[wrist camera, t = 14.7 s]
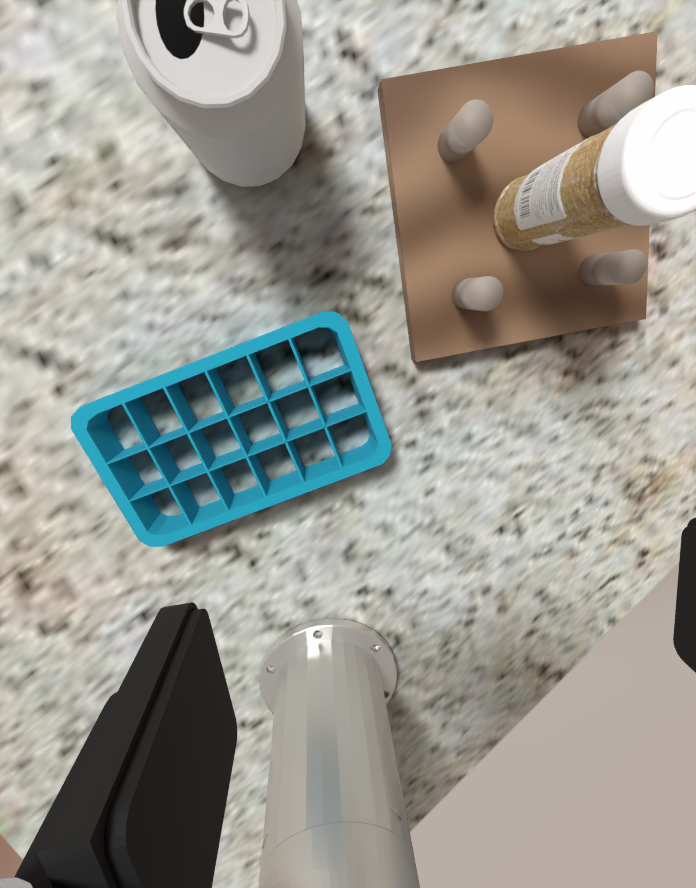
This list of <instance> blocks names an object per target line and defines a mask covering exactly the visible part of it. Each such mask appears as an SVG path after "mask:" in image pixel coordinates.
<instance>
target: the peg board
mask: <svg viewBox="0 0 696 888" xmlns="http://www.w3.org/2000/svg"><path fill="white" fill-rule="evenodd" d="M656 54H657V31H656V32H651V33H645V34H639V35H634V36H628V37H622V38H616V39H611V40H605V41H599V42H593V43H588V44H582V45H576V46H571V47H565V48H559V49H553V50H548V51H542V52H536V53H530V54H525V55H519V56H513V57H508V58H502V59H496V60H490V61H485V62H479V63H473V64H467V65H462V66H456V67H450V68H445V69H439V70H433V71H427V72H422V73H416V74H410V75H404V76H399V77H393V78H387V79H382V80H381V82H380V85H379V88H378V97H379V105H380V113H381V121H382V129H383V137H384V145H385V153H386V160H387V168H388V176H389V184H390V192H391V200H392V208H393V216H394V224H395V231H396V239H397V247H398V255H399V263H400V271H401V279H402V287H403V294H404V302H405V310H406V318H407V326H408V334H409V342H410V350H411V358H412V360H414V361H415V362H419V361H424V360H429V359H435V358H440V357H445V356H451V355H456V354H461V353H467V352H472V351H477V350H483V349H488V348H493V347H499V346H504V345H509V344H514V343H520V342H525V341H530V340H536V339H541V338H546V337H552V336H557V335H562V334H568V333H573V332H578V331H584V330H589V329H594V328H600V327H605V326H610V325H616V324H621V323H626V322H632V321H637V320H642V319H646V302H647V278H648V253H649V228H650V225H645V226H635V225H625V226H621V227H617V228H613V229H610V230H604V231H600V232H597V233H594V234H591V235H586V236H583V237H580V238H576V239H572V240H567V241H563V242H559V243H555V244H549V245H542V246H540V247H538V248H535V249H532V250H529V251H520V250H515V249H512V248H510V247H508V246H506V245H505V244H504V243H503V242H502V241H501V239H500V238H499V236H498V235H497V232H496V230H495V226H494V209H495V206H496V202H497V199H498V198H499V196H500V194H501V192H502V191H503V190H504V188H505V187H506V186H507V185H508V184H509V183H510V182H512V181H513V180H515V179H517V178H519V177H522V176H525V175H528V174H529V173H531V172H532V171H533V170H535V169H536V168H537V167H539V166H541V165H542V164H544V163H546V162H548V161H549V160H551V159H553V158H554V157H556V156H558V155H560V154H561V153H563V152H565V151H567V150H568V149H570V148H572V147H573V146H575V145H577V144H579V143H581V142H582V141H584V140H586V139H588V138H589V137H591V136H594V135H597V134H599V133H601V132H603V131H604V130H606V129H608V128H610V127H612V126H613V125H615V124H617V123H618V121H620V120H621V119H622V118H623V117H624V116H625V115H626V114H627V113H629V112H630V111H631V110H633V109H635V108H636V107H638V106H639V105H641V104H643V103H644V102H646V101H648V100H650V99H652V98H654V97H655V79H656Z"/></svg>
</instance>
